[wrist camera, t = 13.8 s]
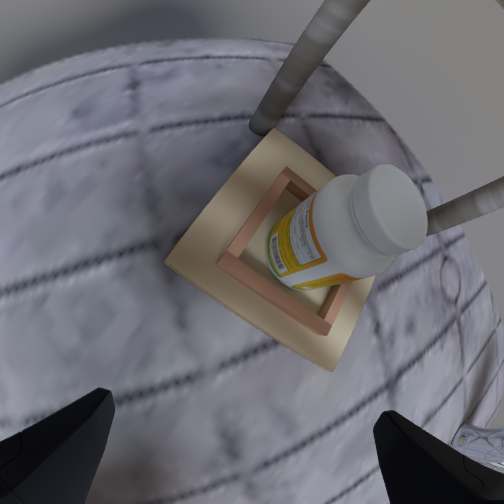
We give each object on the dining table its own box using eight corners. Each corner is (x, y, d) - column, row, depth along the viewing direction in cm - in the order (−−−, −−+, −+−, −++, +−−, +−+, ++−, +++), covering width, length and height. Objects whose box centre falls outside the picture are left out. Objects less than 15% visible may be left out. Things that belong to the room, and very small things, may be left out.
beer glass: (473, 416, 25) (550, 419, 12) (461, 455, 23) (534, 465, 10) (455, 424, 24) (543, 431, 10) (441, 466, 22) (523, 483, 8)
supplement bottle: (340, 249, 21) (442, 206, 12) (308, 307, 19) (422, 291, 10) (288, 202, 20) (376, 129, 11) (247, 258, 18) (336, 201, 9)
